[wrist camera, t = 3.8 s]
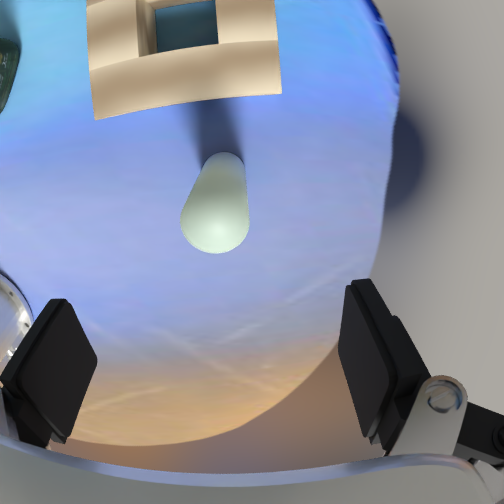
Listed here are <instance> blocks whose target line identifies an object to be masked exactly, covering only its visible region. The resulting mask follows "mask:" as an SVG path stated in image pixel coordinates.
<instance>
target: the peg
mask: <svg viewBox="0 0 504 504" xmlns="http://www.w3.org/2000/svg"><path fill="white" fill-rule="evenodd" d="M180 224H181V229H182V232H183V234H184V236H185V238H186V239H187V240H188V241H189V242H190V244H192V245H193V246H194V247H196V248H197V249H199V250H201V251H204V252H208V253H223V252H227V251H230V250H232V249H234V248H235V247H237V246H238V245H239V244H240V243H241V242H242V241H243V240H244V238H245V237H246V235H247V232H248V229H249V210H248V198H247V186H246V174H245V167H244V164H243V162H242V161H241V160H240V158H238V157H237V156H236V155H234V154H232V153H229V152H219V153H216V154H213V155H212V156H210V157H209V158H208V159H207V160H206V162H205V164H204V166H203V168H202V170H201V172H200V174H199V176H198V178H197V180H196V182H195V184H194V186H193V188H192V190H191V192H190V194H189V196H188V199H187V201H186V203H185V205H184V207H183V209H182V212H181V217H180Z"/></svg>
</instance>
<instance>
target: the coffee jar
mask: <svg viewBox="0 0 504 504" xmlns="http://www.w3.org/2000/svg"><path fill="white" fill-rule="evenodd" d="M18 60H19V51H18V48H17V46H16V44H15V43H14V42H12V41H10V40H7V39H2V38H0V113H1V112H2V111H3V109H4V107H5V105H6V102H7V99H8V97H9V93H10V90H11V87H12V84H13V80H14V77H15V73H16V69H17V65H18Z"/></svg>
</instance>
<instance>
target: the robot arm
mask: <svg viewBox="0 0 504 504" xmlns="http://www.w3.org/2000/svg"><path fill="white" fill-rule="evenodd" d="M20 342H21V343H20ZM338 353H339V357H340V360H341V364H342V367H343V370H344V373H345V376H346V380H347V383H348V386H349V390H350V393H351V396H352V399H353V403H354V407H355V410H356V413H357V417H358V420H359V424H360V427H361V431H362V434H363V436H364V437H369V440H370V443H371V445H373V444H377V443H381V445H382V448H383V449H384V450H386V451H385V453H384V455H383V457H380V458H374V459H369V460H362V461H356V462H350V463H344V464H338V465H332V466H325V467H318V468H310V469H302V470H291V471H281V472H268V473H252V474H198V473H178V472H165V471H155V470H146V469H138V468H131V467H124V466H118V465H112V464H106V463H101V462H96V461H91V460H86V459H82V458H78V457H73V456H69V455H65V454H62V453H58V452H54V451H52V449H51V446H50V444H49V440H50V438H51V439H52V440H53V441H54V442H59V443H62V444H65V442H66V439H67V437H69V436H70V435H71V432H72V429H73V427H74V424H75V421H76V418H77V415H78V412H79V410H80V407H81V404H82V402H83V399H84V396H85V394H86V391H87V388H88V386H89V383H90V381H91V378H92V376H93V373H94V371H95V368H96V366H97V356H96V354H95V352H94V350H93V348H92V346H91V345H90V343H89V341H88V339H87V337H86V335H85V333H84V331H83V328H82V326H81V324H80V322H79V320H78V318H77V316H76V314H75V311H74V309H73V307H72V305H71V304H70V303H68V301H67V300H66V299H51V300H50V301H49V302H48V303H47V305H46V306H45V307H44V309H43V310H42V312H41V313H40V314H39V316H38V317H37V319H36V320H35V322H34V321H33V316H32V313H31V310H30V308H29V306H28V304H27V302H26V300H25V299H24V297H23V295H22V294H21V293H20V292H19V290H18V289H17V288H16V287H15V286H14V285H13V284H12V283H11V282H10V281H9V280H8V279H7V278H5V277H4V276H2V275H1V274H0V363H1V361H2V360H3V358H4V356H5V355H7V357H8V358H9V362H8V364H7V365H6V367H5V369H4V370H3V372H2V374H1V376H0V381H1V382H2V384H3V385H4V386H3V387H2V388H1V387H0V504H504V415H501V414H499V413H496V412H493V411H491V410H488V409H485V408H483V407H480V406H478V405H475V404H473V403H470V402H468V401H467V400H468V396H467V392H466V390H465V388H464V387H463V385H462V384H461V383H460V382H459V381H458V380H456V379H454V378H452V377H449V376H444V375H438V376H433V377H431V375H430V373H429V372H428V369H427V367H426V366H425V364H424V362H423V360H422V358H421V356H420V354H419V353H418V351H417V349H416V347H415V345H414V344H413V342H412V340H411V338H410V336H409V334H408V333H407V331H406V329H405V327H404V326H403V324H402V322H401V321H400V319H399V318H398V317H397V316H395V315H394V316H392V315H391V313H390V311H389V309H388V308H387V306H386V304H385V302H384V301H383V299H382V297H381V296H380V294H379V292H378V291H377V289H376V287H375V286H374V284H373V283H372V281H371V279H369V278H368V279H359V280H353V281H352V282H351V285H347V286H346V289H345V298H344V306H343V314H342V322H341V329H340V336H339V343H338Z"/></svg>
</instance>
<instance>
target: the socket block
mask: <svg viewBox="0 0 504 504" xmlns="http://www.w3.org/2000/svg"><path fill="white" fill-rule="evenodd" d="M202 1H210V0H87V43H88V60H89V73H90V83H91V93H92V102H93V110H94V117H95V120H99V119H103V118H108V117H113V116H117V115H122V114H127V113H132V112H136V111H141V110H147V109H152V108H157V107H163V106H169V105H175V104H182V103H189V102H196V101H204V100H212V99H221V98H232V97H244V96H258V95H275V94H282V88H281V74H280V61H279V48H278V37H277V25H276V14H275V4H274V0H215V2H216V15H217V28H218V40H219V44H214V45H205V46H198V47H191V48H184V49H178V50H172V51H167V52H162V53H158V50H157V36H156V20H155V10H156V9H161V8H166V7H171V6H177V5H182V4H189V3H195V2H202Z"/></svg>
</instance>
